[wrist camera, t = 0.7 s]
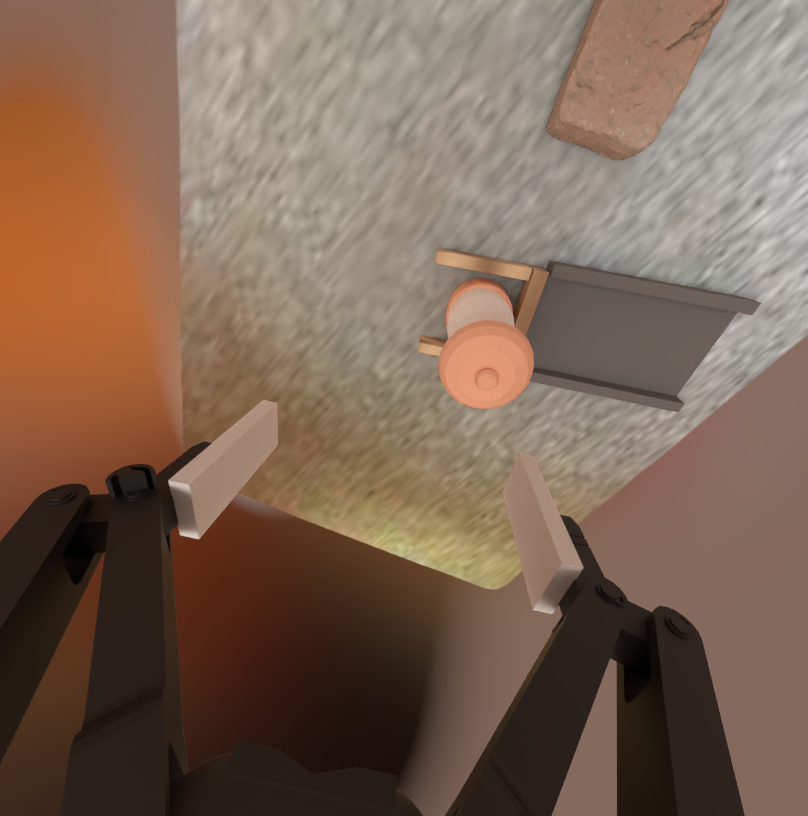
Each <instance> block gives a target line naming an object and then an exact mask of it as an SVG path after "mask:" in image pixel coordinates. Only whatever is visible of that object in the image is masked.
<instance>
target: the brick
mask: <svg viewBox="0 0 808 816" xmlns="http://www.w3.org/2000/svg"><path fill="white" fill-rule="evenodd" d="M728 1H729V0H595V3H594V5H593V8H592V11H591V14H590V17H589V19H588V21H587V24H586V26H585V29H584V32H583V35H582V37H581V39H580V42H579V44H578V47H577V50H576V52H575V55H574V58H573V60H572V63H571V65H570V67H569V70H568V72H567V75H566V77H565V79H564V81H563V84H562V86H561V88H560V90H559V93H558V96H557V98H556V102H555V105H554V108H553V110H552V113H551V116H550V119H549V122H548V124H547V132H548V133H550V134H551V135H552V136H553V137H558V140H560V141H562V142H572V143H574V144H575V143H576V144H578V145H580V146H583V147H587V148H590V149H591V151H594V152H597V153H598V154H599V155H601V156H602V157H605V158H610V159H613V160H623V159H625V158H627V157H631V156H635V155H636V154H637V153H639V152H641V151H642V150H644V149H645V148H646V147H647V146H649V145H650V144H651V143H652V142H653V141H654V139H655V138H656V136H657V134H658V132H659V131H660V129H661V126H662V125H663V123H664V121H665V120H666V118H667V117H668V115H669V114H670V112H671V110H672V108H673V106H674V104H675V103H676V101H677V100H678V98H679V97H680V95H681V93H682V92H683V90H684V88H685V86H686V84H687V82H688V80H689V78H690V76H691V74H692V72H693V70H694V67H695V65H696V63H697V60H698V58H699V56H700V55H701V53H702V51H703V50H704V48H705V47H706V45H707V43H708V40H709V38H710V35H711V32H712V28H713V27H714V26H715V25H716V24H717V23H718V21H719V19H720V17H721V15H722V13H723V12H724V9H725V7H726V5H727V3H728Z"/></svg>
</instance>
